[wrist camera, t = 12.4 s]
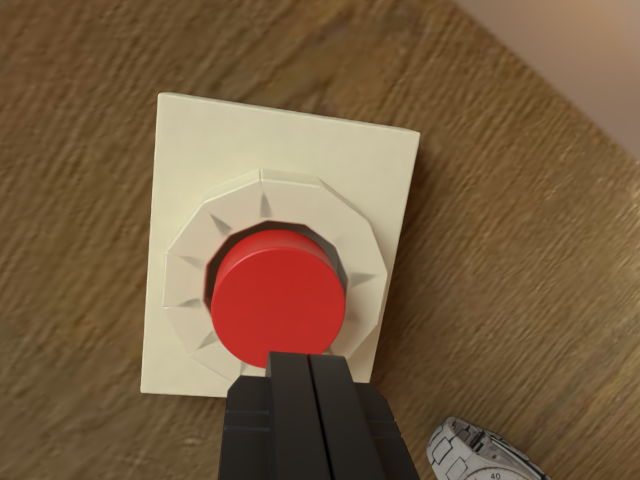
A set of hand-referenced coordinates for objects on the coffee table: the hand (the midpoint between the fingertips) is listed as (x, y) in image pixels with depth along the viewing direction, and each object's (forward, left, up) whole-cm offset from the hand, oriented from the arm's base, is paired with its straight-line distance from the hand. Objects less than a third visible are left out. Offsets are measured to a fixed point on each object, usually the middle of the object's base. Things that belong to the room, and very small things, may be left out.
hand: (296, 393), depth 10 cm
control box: (0, 0, -8) cm, 8 cm away
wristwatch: (+8, +10, -9) cm, 15 cm away
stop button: (0, 0, -5) cm, 5 cm away
